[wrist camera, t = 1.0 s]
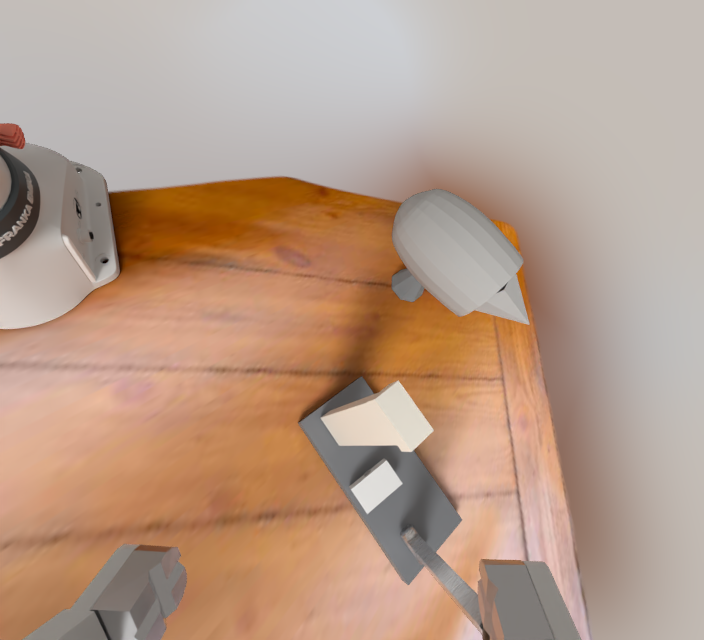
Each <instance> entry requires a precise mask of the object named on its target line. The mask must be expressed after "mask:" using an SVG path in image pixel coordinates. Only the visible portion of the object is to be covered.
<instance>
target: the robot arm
mask: <svg viewBox="0 0 704 640" xmlns="http://www.w3.org/2000/svg"><path fill="white" fill-rule="evenodd" d="M78 172H80V173H78ZM104 260H109V261H108V262H107V263H105V264H104V263H102V262H103V261H104ZM119 273H120V268H119V261H118V255H117V248H116V242H115V235H114V228H113V222H112V215H111V209H110V202H109V195H108V189H107V183H106V180H105V179H104V177H103V176H102V175H101V174H100V173H98V172H97V171H95V170H93V169H91V168H89V167H87V166H84V165H82V164H79V163H76V162H72V161H69V160H68V159H67V158H65V157H64V156H62V155H61V154H59V153H57V152H55V151H52V150H50V149H47V148H44V147H41V146H37V145H33V144H29V143H25V138H24V134H23V132H22V130H21V128H19V126H18V125H16V124H9V123H7V124H0V329H16V328H25V327H30V326H35V325H39V324H42V323H45V322H48V321H51V320H53V319H55V318H58V317H60V316H61V315H63V314H65V313H67V312H68V311H70V310H71V309H73V308H74V307H75V306H77V305H78V304H79V303H80V302H81V301H82V300H83V299H84V298H85V297H86V296H87V295H88V294H89V293H90V292H92V291H93V290H94V289H96V288H98V287H100V286H103V285H105V284H107V283H109V282H111V281H113V280H114V279H116V278H117V277H118V275H119ZM180 556H181V554H180V552H179V549H178V547H168V546H151V545H137V544H123V545H122V546H121V547H119V548H118V549H117V550H116V551H115V552H114V554H113V555H112V556H111V557H110V559H109V560H108V561H107V563H106V564H105V565H104V566H103V568H102V569H101V570H100V571H99V573H98V574H97V575H96V577H95V578H94V579H93V580H92V582H91V583H90V584H89V586H88V587H87V588H86V589H85V591H84V592H83V593H82V595H81V596H80V597H79V598H78V600H77V601H76V602H75V604H74V605H73V606H72V607H71V609H64V610H63V611H61V612H60V613H59V614H57V615H56V616H54V617H53V618H52V619H50V620H49V621H47V622H46V623H45V624H43V625H42V626H41V627H39V628H38V629H36V630H35V631H34V632H32V633H31V634H29V635H28V636H27V637H25V638H24V639H22V640H161V638H162V636H163V634H164V632H165V630H166V618H167V617H168V616H169V615H170V614H171V613H172V612H173V611H175V610H176V609H177V607H178V605H179V603H180V601H181V599H182V597H183V594H184V590H185V587H186V583H187V573H186V570H185V567H184V566H183V565H182V564H180V563H179V562H178V560H179V558H180ZM479 571H480V575H481V579H480V580H479V581H478V602H479V609H480V614H481V619H482V624H483V628H484V629H485V631H486V632H487V633H488V634H489V636H490V640H581V638H580V636H579V633H578V631H577V629H576V627H575V624H574V622H573V620H572V618H571V616H570V613H569V611H568V609H567V607H566V605H565V602H564V600H563V598H562V596H561V594H560V591H559V589H558V587H557V585H556V583H555V580H554V578H553V576H552V574H551V572H550V569H549V567H548V566H547V565H546V564H545V562H541V561H521V560H489V559H481V560H480V564H479Z"/></svg>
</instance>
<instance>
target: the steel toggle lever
mask: <svg viewBox="0 0 704 640" xmlns="http://www.w3.org/2000/svg"><path fill="white" fill-rule="evenodd" d="M400 536H401V538H402V539H403V541H404V542H405V544H406V545H407V546H408V548H409V549H410V551H411V552H412V554H413V555H414V557H415V558H416V560H417V561H418V563H419V564H421V565H422V564H423V565H424V566H425V568H426V569H427V570H428V571H429V572H430V574H431V575H432V576H433V577H434V578H435V579H436V581H437V582H438V583H439V584H440V585H441V587H442V588H443V589H444V590H445V591H446V593H447V594H448V595H449V596H450V597H451V599H452V600H453V601H454V602H455V603H456V604H457V606H458V607H459V608H460V609H461V610H462V612H463V613H464V614H465V615H466V616H467V618H468V619H469V620H470V621H471V622H472V624H473V625H474V626H475V627H476V628H477V629H478V631H479V632H480V633H481V634H482V636H483V640H490V636H489V634H488V633H487V632H486V631H485V629H484V628H483V624H482V619H481V614H480V609H479V602H478V595H477V594H476V593H475V592H474V591H473V590H472V589H471V588H470V587H469V586H468V585H467V584H466V583H465V582H464V581H463V580H462V579H461V578H460V577H459V576H458V575H457V574H456V572H455V571H454V570H453V569H452V568H451V567H450V566H449V565H448V564H447V563H446V562H445V561H444V560H443V559H442V558H441V557H440V556H439V555H438V554H437V553H436V552H435V551H434V550H433V549H432V548H431V547H430V546H429V545H428V544H427V543H426V542H425V541H424V540H423V539H422V538H421V537H420V536H419V534H418V533H417V531H416V530H415V528H414V527H413V526H412V525H411V524H410V525H407V526H405V527H404V528H403V529H402V530H401V532H400Z"/></svg>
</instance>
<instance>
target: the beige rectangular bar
mask: <svg viewBox="0 0 704 640" xmlns="http://www.w3.org/2000/svg"><path fill="white" fill-rule="evenodd" d="M321 420H322V421H323V423H324V424H325V426H326V427H327V429H328V430H329V432H330V433H331V435H332V436H333V438H334V439H335V441H336V442H337V443H338V445H339V446H387V445H397V446H398V447H399V449H400V450H401V452H412V451H413V450H414V449H415V448H416V447H417V446H418V445H419V444H420V443H421V442H422V441H424V440H425V439H426V438H427V437H428V436H429V435H430V434H431V433H432V432H433V431H434V430H433V428H432V427H431V426H430V424H429V423H428V421H427V420H426V418H425V417H424V416H423V414H422V413H421V411H420V410H419V409H418V407H417V406H416V404H415V403H414V402H413V400H412V399H411V397H410V396H409V395H408V393H407V392H406V390H405V389H404V388H403V386H402V385H401V383H400V382H399V381H396V382H393V383H391V384H389V385H388V386H386V387H385V388H384V389H383V390H381V391H380V392H378V393H376V394H373V395H370V396H368V397H365V398H362V399H360V400H357V401H354V402H352V403H349V404H346V405H344V406H341V407H338V408H336V409H333V410H330V411H329V412H327V413H326V414H325V415H324V416H322V417H321Z"/></svg>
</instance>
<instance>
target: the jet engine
mask: <svg viewBox="0 0 704 640" xmlns="http://www.w3.org/2000/svg"><path fill="white" fill-rule="evenodd" d="M392 241H393V244H394V247H395V249H396V251H397V253H398V255H399V257H400V258H401V260H402V261H403V263H404V264H405V266H406V267H407V268H406V269H403V270H400V271H399V272H398V273H396V274H395V275H393V276H392V290H393V291H394V292H395V293H396V294H397V296H398V297H399V298H400V299H401V300H406V301H410V302H414V301H415V300H416V299H417V298H419V297H420V296H421V295H422V293H423V290H424V288H425V289H426V290H427V291H428V292H429V293H431V294H432V295H433V296H434V297H435V298H436V299H438V300H439V301H440V302H441V303H442V304H443V305H445V306H446V307H447V308H448V309H450V310H451V311H452V312H454V313H455V314H456V315H458V316H464V315H466V314H468V313H470V312H472V311H473V310H476V311H480V312H484V313H487V314H491V315H495V316H499V317H502V318H506V319H510V320H514V321H517V322H521V323H525V324H529V320H528V316H527V313H526V309H525V305H524V302H523V298H522V294H521V290H520V287H519V283H518V279H517V275H516V273H517V271H518V270H519V269H520V267H521V265H522V264H523V258H522V256H521V255H520V254H519V253H518V251H517V250H516V248H515V247H514V246H513V245H512V244H511V242H510V241H509V240H508V239H507V238H506V237H505V236H504V235H503V233H502V232H501V231H500V230H499V229H498V228H497V227H496V225H495V224H494V223H493V222H492V221H491V220H490V219H489V218H487V217H486V216H485V215H484V214H483V213H482V212H480V211H479V210H478V209H477V208H475V207H474V206H473V205H471V204H470V203H469V202H467V201H465V200H464V199H462V198H460V197H459V196H457V195H455V194H453V193H451V192H448V191H445V190H441V189H433V190H430V191H425V192H421V193H418V194H415V195H413V196H412V197H410V198H408V199H407V200H405V201H404V202H403V203H402V204H401V206H400V207H399V209H398V211H397V213H396V216H395V220H394V225H393V231H392ZM529 325H530V324H529Z"/></svg>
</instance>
